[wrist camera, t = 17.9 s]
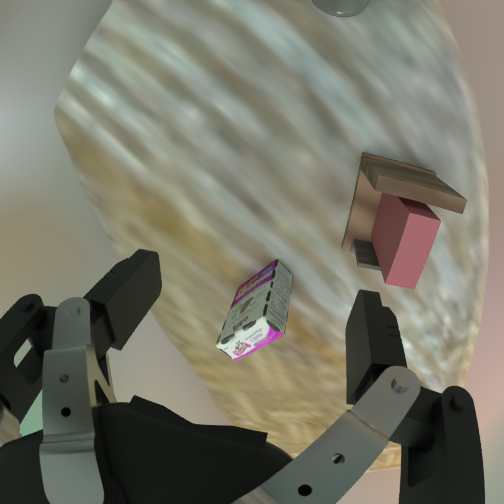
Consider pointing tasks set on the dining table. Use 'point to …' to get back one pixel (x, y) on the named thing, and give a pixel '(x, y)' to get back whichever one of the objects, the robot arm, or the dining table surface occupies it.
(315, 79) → the dining table surface
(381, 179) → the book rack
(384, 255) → the burgundy book
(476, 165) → the dining table surface
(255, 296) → the candy bar box
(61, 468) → the robot arm
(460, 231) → the dining table surface
